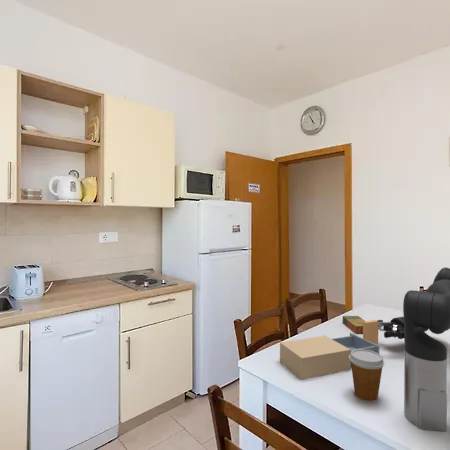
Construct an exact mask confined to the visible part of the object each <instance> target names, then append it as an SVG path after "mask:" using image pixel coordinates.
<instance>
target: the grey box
mask: <svg viewBox="0 0 450 450" xmlns="http://www.w3.org/2000/svg"><path fill="white" fill-rule="evenodd" d="M377 320H378V319H377ZM377 320H376V319H372V320H365V321H364V322H363V334H362V337H361V336H359V335H358V334H355V333H354V332H353V333H352V332H350V333H349V335H347V336H341V337H334V338H331V339H332V340H334V341H336V342H337V343H339V344H341V345H343V346H345V347H347V348H349V349H350V350H351V351H353V350H357V349H364V350H370V351H373V352H376V353H378V354H380V345H379V330H378V328H379V327H378V321H377Z"/></svg>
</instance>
